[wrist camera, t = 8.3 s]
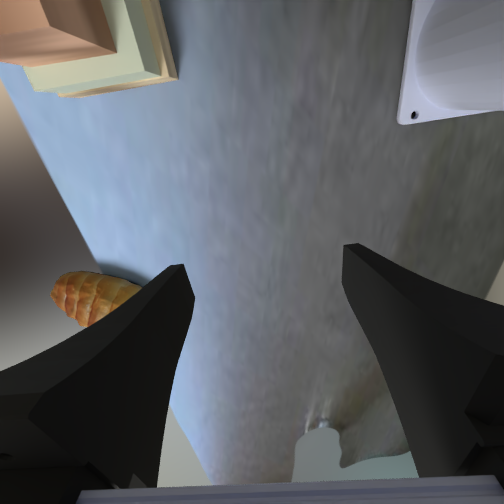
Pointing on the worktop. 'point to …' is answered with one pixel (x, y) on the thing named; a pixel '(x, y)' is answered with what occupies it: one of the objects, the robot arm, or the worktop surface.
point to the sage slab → (105, 56)
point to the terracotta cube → (53, 31)
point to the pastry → (91, 295)
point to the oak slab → (161, 50)
